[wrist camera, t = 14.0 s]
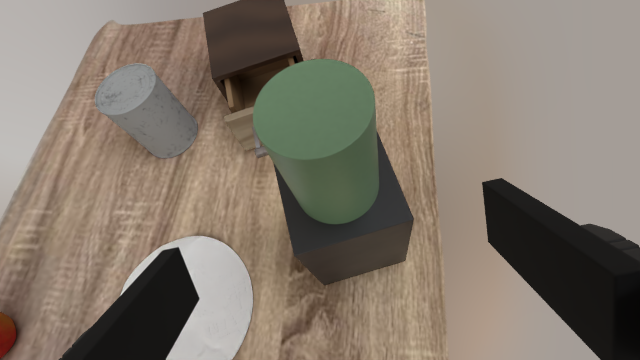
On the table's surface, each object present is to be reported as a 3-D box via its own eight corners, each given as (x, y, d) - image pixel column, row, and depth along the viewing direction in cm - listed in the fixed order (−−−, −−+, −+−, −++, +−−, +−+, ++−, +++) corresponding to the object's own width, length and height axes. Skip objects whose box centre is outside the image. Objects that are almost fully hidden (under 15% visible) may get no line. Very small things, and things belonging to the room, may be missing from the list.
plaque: (116, 423, 41) (108, 425, 40) (109, 268, 51) (102, 266, 49) (272, 357, 42) (269, 357, 41) (236, 219, 52) (232, 215, 50)
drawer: (328, 154, 52) (319, 123, 45) (250, 179, 52) (229, 153, 45) (300, 63, 61) (288, 27, 54) (233, 85, 61) (214, 52, 54)
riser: (377, 187, 49) (373, 122, 35) (405, 260, 44) (414, 219, 30) (304, 210, 49) (271, 155, 35) (324, 285, 44) (294, 256, 30)
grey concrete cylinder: (156, 113, 63) (108, 65, 52) (203, 111, 61) (163, 61, 50) (140, 158, 59) (84, 116, 48) (190, 158, 57) (143, 113, 46)
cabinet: (312, 93, 59) (300, 48, 50) (237, 117, 59) (211, 78, 51) (293, 33, 66) (279, -14, 57) (226, 56, 67) (202, 12, 58)
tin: (363, 138, 34) (353, 43, 23) (391, 209, 30) (393, 135, 20) (288, 162, 34) (244, 80, 24) (306, 235, 31) (263, 176, 20)
